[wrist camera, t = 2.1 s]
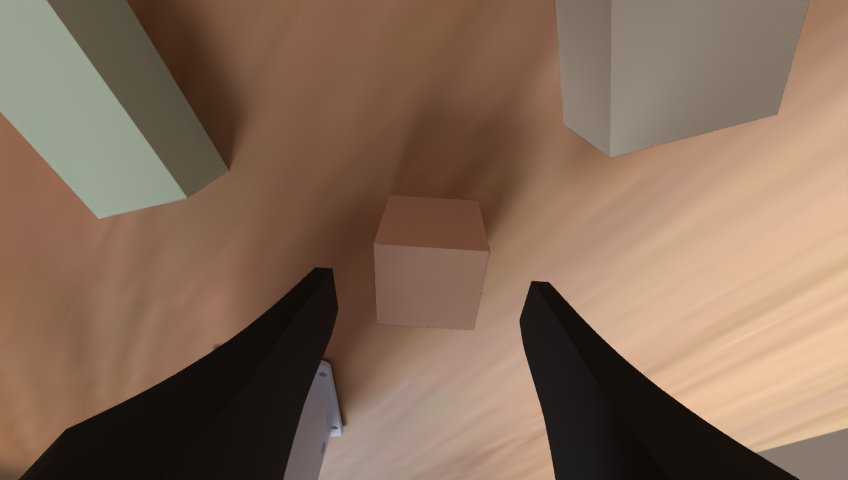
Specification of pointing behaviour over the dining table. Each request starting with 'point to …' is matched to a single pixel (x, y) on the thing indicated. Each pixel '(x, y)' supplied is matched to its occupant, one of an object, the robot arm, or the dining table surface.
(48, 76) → the sage base brick
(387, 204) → the pinkish brown cube
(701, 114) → the light gray cube
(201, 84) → the dining table surface
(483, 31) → the dining table surface
